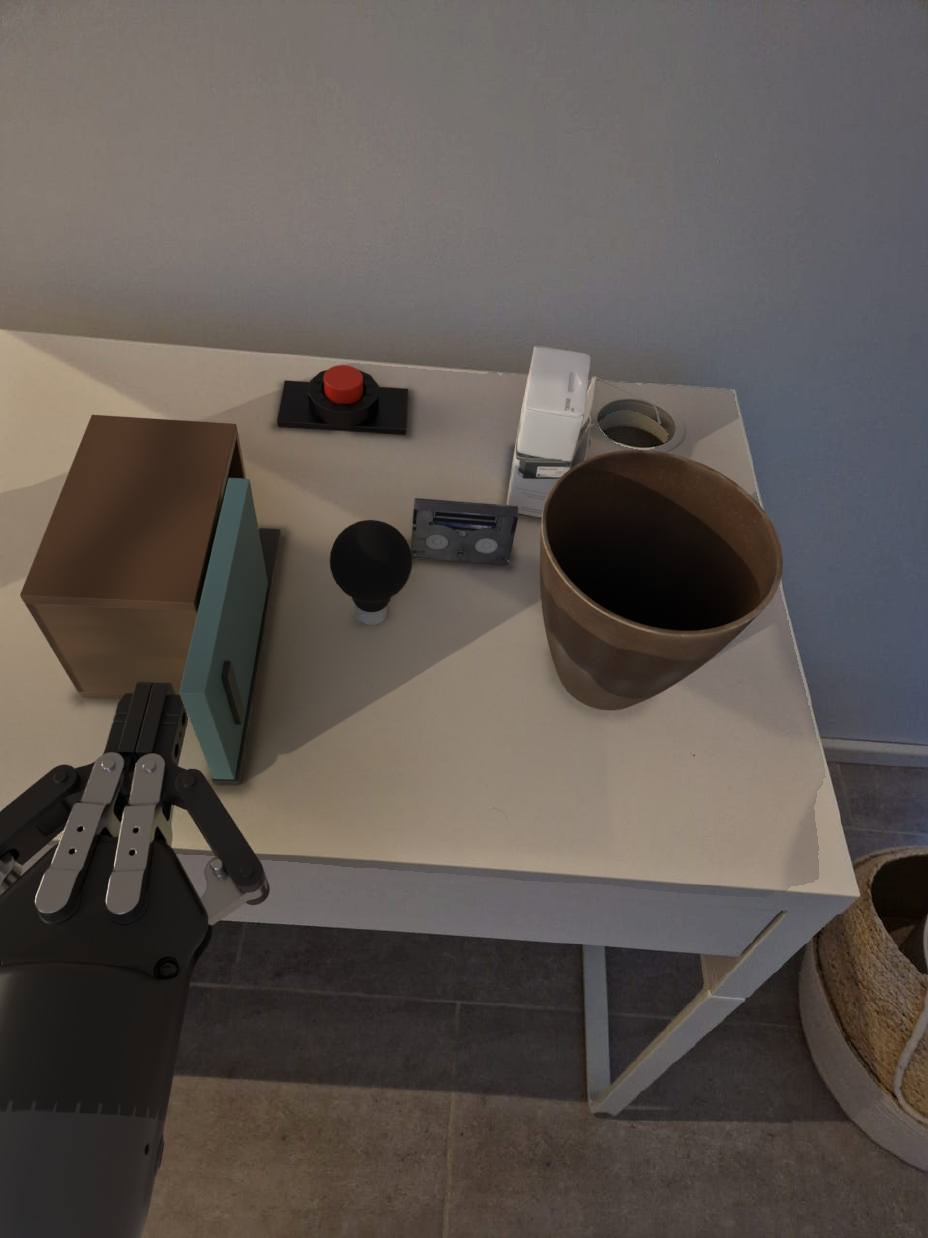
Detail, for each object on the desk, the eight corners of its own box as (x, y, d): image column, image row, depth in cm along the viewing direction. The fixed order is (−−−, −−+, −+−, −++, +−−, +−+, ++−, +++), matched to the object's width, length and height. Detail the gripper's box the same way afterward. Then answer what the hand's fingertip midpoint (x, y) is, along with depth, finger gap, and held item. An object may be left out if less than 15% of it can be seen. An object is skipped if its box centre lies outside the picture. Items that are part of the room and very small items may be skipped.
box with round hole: (578, 404, 80) (597, 364, 76) (655, 430, 81) (678, 392, 77) (563, 501, 72) (584, 462, 68) (649, 529, 73) (675, 492, 69)
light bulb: (338, 586, 64) (333, 499, 56) (411, 592, 64) (416, 506, 56) (329, 646, 60) (322, 563, 52) (406, 652, 61) (410, 570, 53)
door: (213, 779, 52) (178, 692, 43) (250, 582, 62) (228, 477, 53) (240, 780, 52) (212, 694, 43) (273, 583, 62) (255, 478, 53)
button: (322, 403, 73) (321, 388, 72) (326, 378, 75) (325, 363, 74) (361, 406, 74) (361, 390, 72) (364, 381, 76) (364, 365, 74)
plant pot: (680, 788, 56) (771, 668, 43) (481, 719, 58) (511, 585, 45) (710, 628, 65) (793, 488, 52) (536, 572, 67) (575, 424, 54)
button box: (277, 428, 74) (274, 407, 72) (285, 384, 78) (283, 362, 76) (405, 436, 75) (406, 416, 73) (408, 392, 79) (408, 371, 77)
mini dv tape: (507, 552, 68) (518, 502, 63) (508, 565, 67) (518, 517, 62) (411, 544, 67) (414, 494, 62) (410, 558, 66) (413, 508, 61)
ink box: (513, 448, 75) (533, 340, 66) (564, 456, 75) (592, 350, 66) (503, 512, 70) (523, 406, 61) (558, 522, 70) (587, 417, 61)
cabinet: (55, 781, 52) (-18, 688, 43) (134, 526, 65) (92, 411, 56) (239, 786, 53) (209, 696, 44) (281, 534, 66) (265, 422, 57)
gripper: (229, 1122, 24) (294, 651, 34) (-229, 1124, 23) (-22, 639, 33) (259, 1137, 30) (307, 732, 41) (-103, 1139, 29) (39, 724, 40)
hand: (158, 691), depth 37 cm, fingers closed
